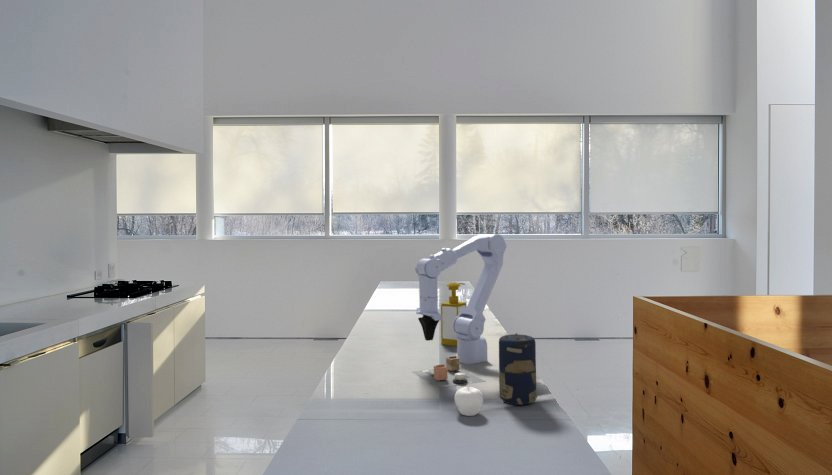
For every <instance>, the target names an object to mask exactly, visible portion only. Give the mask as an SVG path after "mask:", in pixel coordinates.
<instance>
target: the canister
mask: <svg viewBox="0 0 832 475" xmlns="http://www.w3.org/2000/svg"><path fill="white" fill-rule="evenodd" d="M536 350H537V349H536V339H535V338H534V337H533V336H530V335H527V334H518V333H517V332H516V333H515V334H514V333H513V334H505V335H502V336H500V337H499V339H498V377H499V378H498V384H499V385H498V388H499V391H498V392H499V398H500V399H501V400H502V401H503V403H505V404H509V405H510V404H511V405H528V404H532V403H533V402H534V401H536V398H537V359H536V358H537V352H536Z"/></svg>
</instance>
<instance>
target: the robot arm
mask: <svg viewBox="0 0 832 475" xmlns="http://www.w3.org/2000/svg"><path fill="white" fill-rule="evenodd" d="M506 248H507V243H506V241H505V239H504V237H503V236H502V235H501V234H499V233H498V234H497V233H496V234H490V233H489V234H486V233H478V234H477V235H474V236H472V237H471V238H470V239H468V240H466V241H465V242H463V243H461V244H460V245H458V246H456V247H454V248H453V249H451V248H448V247H443V248H441V249H440V251H439V252H437V253H434V254H430V255H429V256H428V258H421V259H420V260H419V261H418V262H417V264H416V267H415V268H414V270H415V272H416V274H417V276H418V283H419V284H418V287H419V289H418V292H419V293H418V294H419V295H418V296H419V307H417V308H416V312H415V314H417V315H421V317H418V319H417V320H418V321H419V324H420V325H421V328H422V332H423V336H424V340H425V341H433V340H434V336H435V333H436V328H437V326H438V324H439V322H440V321H441V320H442V314H441V312H439V309H438V308H439V304H438V302H439V300H438V292H439V291H438V277H439V276H440V275H441V272H443V271H445V270H446V269H448V268H451V267H453V266H454V265H456V264H457V262H458V259H460V258H462V257H464V256H466V255H469V254H471V253H473V252H475V251H476V252H477V253H478V254H479V256H480V257H481V259H482V260H483V262H484V266H483V267H482V271H481V273H480V275H479V278H478V280H477V281H476V285H475V287H474V289H473V292H472V294H471V296H470V297H469V298H470V299H469V301H468V303H467V304H466V307H465V308H464V309H462V310H461V311H460V313H459V315H458V316H457V317H456V318H455V319H454V321H453V330H454V331H455V333H456V336H457V346H456V347H457V348H456V350H457V352H456V353H457V354H456V356H457V358H459V364H463V365H464V364H466V365H468V364H469V365H473V364H478V363H479V364H480V363H484V362H488V343H487V339H486V338H485V337H484V336H482V335H483V333H484V330H485V328H484V327H485V322H486V317H485V316H484V310H485V308H486V305H487V303H488V301H489V298H490V296H491V294H492V291H493V289H494V286H495V284H496V282H497V279H498V277H499V275H500V272H501V270H502V267H503V264H504V254H505V251H506Z"/></svg>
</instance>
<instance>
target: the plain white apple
mask: <svg viewBox="0 0 832 475" xmlns="http://www.w3.org/2000/svg"><path fill="white" fill-rule="evenodd" d="M472 384H473V383H472V382H470V384H468V386H465V387H461V388H459V389H457V391H456V392H455V394H454V403H455V406H456V408H457V410H458V412H459V414H460V415H462V416H468V417H474V416H476V415H478V413H479V412H480V410H481V409H482V406H483V404H484V395H483V393H482V391H481V390H480V389H478V388H476V387H472V386H471V385H472Z"/></svg>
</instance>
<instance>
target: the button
mask: <svg viewBox="0 0 832 475" xmlns="http://www.w3.org/2000/svg"><path fill="white" fill-rule="evenodd" d="M455 380H465V373H455Z"/></svg>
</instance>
